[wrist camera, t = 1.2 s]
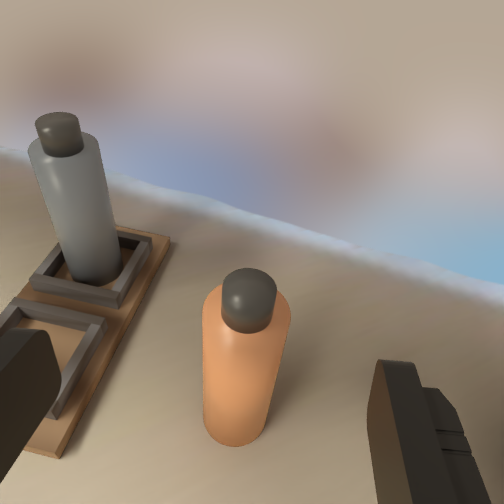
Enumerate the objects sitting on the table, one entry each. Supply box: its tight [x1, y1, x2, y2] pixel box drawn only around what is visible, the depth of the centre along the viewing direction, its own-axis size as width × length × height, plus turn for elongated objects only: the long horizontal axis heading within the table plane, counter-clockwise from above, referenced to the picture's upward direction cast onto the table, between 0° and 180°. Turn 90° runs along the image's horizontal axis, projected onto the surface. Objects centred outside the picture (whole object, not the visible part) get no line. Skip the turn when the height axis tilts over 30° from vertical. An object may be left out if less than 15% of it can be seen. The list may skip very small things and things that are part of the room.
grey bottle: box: [28, 112, 123, 287], centre depth 34 cm, size 5×5×15 cm
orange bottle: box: [202, 268, 291, 447], centre depth 26 cm, size 5×5×15 cm
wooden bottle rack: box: [0, 226, 170, 459], centre depth 36 cm, size 22×10×3 cm, turn 168°
